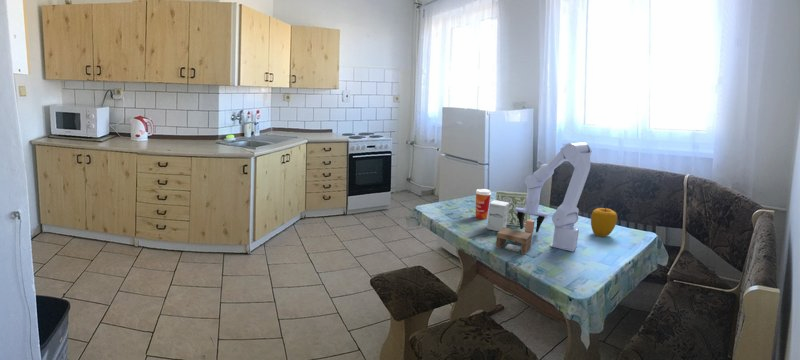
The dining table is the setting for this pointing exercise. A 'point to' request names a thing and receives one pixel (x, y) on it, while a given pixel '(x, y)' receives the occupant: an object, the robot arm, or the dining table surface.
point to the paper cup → (482, 203)
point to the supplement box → (497, 215)
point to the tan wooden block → (528, 227)
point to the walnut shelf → (514, 238)
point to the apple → (603, 221)
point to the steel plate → (512, 247)
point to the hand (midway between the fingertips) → (529, 230)
